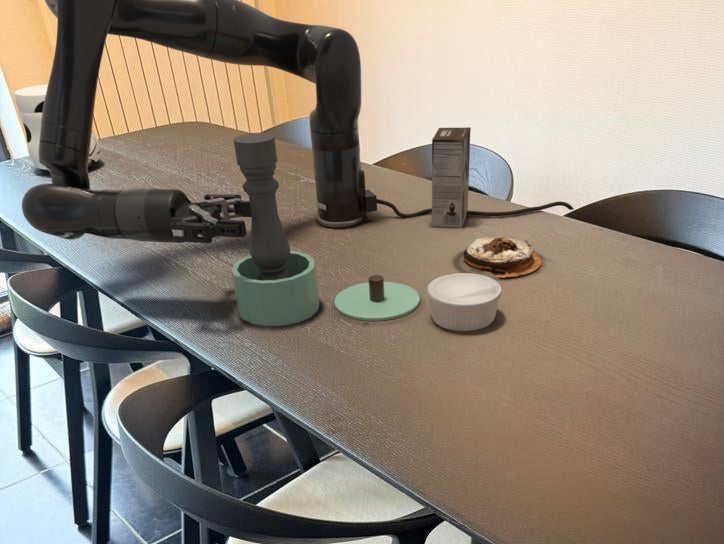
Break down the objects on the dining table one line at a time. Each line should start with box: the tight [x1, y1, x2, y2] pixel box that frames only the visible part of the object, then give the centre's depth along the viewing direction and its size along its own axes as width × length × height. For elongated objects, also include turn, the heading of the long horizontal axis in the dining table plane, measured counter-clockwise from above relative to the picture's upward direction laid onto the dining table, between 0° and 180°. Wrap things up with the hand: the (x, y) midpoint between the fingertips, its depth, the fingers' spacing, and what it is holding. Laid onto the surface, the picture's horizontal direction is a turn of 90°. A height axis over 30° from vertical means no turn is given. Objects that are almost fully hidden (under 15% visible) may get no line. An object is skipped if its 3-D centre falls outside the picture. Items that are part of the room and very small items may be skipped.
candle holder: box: [232, 132, 291, 281], centre depth 106 cm, size 6×6×25 cm
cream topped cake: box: [463, 236, 542, 279], centre depth 125 cm, size 15×15×4 cm
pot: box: [230, 250, 321, 327], centre depth 112 cm, size 13×13×8 cm
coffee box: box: [431, 127, 472, 228], centre depth 139 cm, size 9×6×16 cm
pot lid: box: [333, 274, 421, 322], centre depth 113 cm, size 14×14×5 cm
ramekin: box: [426, 272, 503, 332], centre depth 108 cm, size 11×11×5 cm
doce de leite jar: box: [13, 83, 102, 173], centre depth 179 cm, size 17×17×18 cm
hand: (254, 218), depth 105 cm, fingers open, 8 cm apart
